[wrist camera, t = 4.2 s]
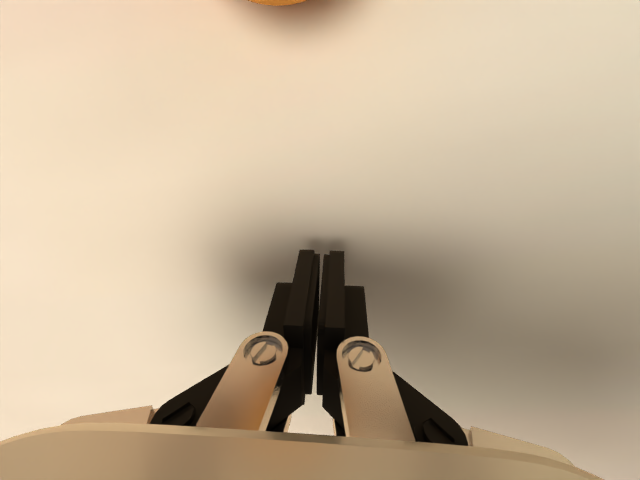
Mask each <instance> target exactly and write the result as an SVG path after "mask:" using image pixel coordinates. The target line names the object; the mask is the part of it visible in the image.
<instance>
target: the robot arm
mask: <svg viewBox="0 0 640 480" xmlns="http://www.w3.org/2000/svg"><path fill="white" fill-rule="evenodd" d="M319 274H320V254H314V250H300V251H299V256H298V260H297V265H296V269H295V274H294V278H293V283H277V284H276V287H275V290H274V294H273V297H272V301H271V304H270V308H269V311H268V315H267V318H266V321H265V325H264V328H263V332H258V333H255V334H253V335H251V336H249V337H248V338H246V339H245V340H244V341H243V342H242V344H241V345H240V346H239V348H238V350H237V352H236V354H235V355H234V357H233V359H232V361H231V363H230V364H229V365H228V366H226V367H224V368H222V369H221V370H219V371H217V372H216V373H214V374H212V375H211V376H209V377H207V378H206V379H204V380H202V381H201V382H199V383H197V384H196V385H194V386H192V387H190V388H189V389H187V390H185V391H184V392H182V393H180V394H179V395H177V396H175V397H174V398H172V399H170V400H169V401H167V402H166V403H165V404H163V405H162V406H161V407H160V408H158V409H153V407H152V405H151V406H145V407H138V408H132V409H125V410H118V411H112V412H105V413H99V414H92V415H86V416H80V417H77V418H73V419H70V420H68V421H67V422H65V423H63V424H61V425H60V426H55V427H49V428H43V429H39V430H35V431H32V432H28V433H25V434H21V435H18V436H14V437H11V438H9V439H6V440H3V441H1V442H0V480H604V479H602V478H600V477H598V476H595V475H593V474H591V473H588V472H586V471H584V470H581V469H579V468H577V467H575V466H574V465H573V464H572V463H571V462H570V461H569V460H568V459H566V458H565V457H564V456H562V455H561V454H560V453H558V452H556V451H553V450H551V449H549V448H546V447H543V446H539V445H536V444H532V443H529V442H525V441H521V440H518V439H514V438H511V437H507V436H504V435H500V434H497V433H493V432H490V431H486V430H483V429H479V428H476V427H472V426H471V428H470V430H468V429H464V428H461V427H460V425H459V424H458V423H457V422H456V421H455V420H453V419H452V418H451V417H450V416H449V415H447V414H446V413H445V412H444V411H442V410H441V409H440V408H439V407H437V406H436V405H435V404H434V403H432V402H431V401H430V400H428V399H427V398H426V397H425V396H423V395H422V394H421V393H420V392H418V391H417V390H416V389H414V388H413V387H412V386H411V385H409V384H408V383H407V382H406V381H404V380H403V379H402V378H401V377H399V376H398V375H397V374H395V373H394V372H393V371H392V369H391V366H390V363H389V361H388V358H387V355H386V352H385V351H384V349H383V347H382V346H381V345H380V344H379V343H378V342H376V341H374V340H372V339H370V338H369V334H368V324H367V313H366V303H365V293H364V287H363V286H345V279H344V251H330V255H327V254H324V261H323V272H322V283H321V294H320V305H319ZM317 329H318V332H317ZM316 340H317V395H323V403H322V407H323V408H324V409H325V410H326V411H327V412H328V413H329V414H330V415H331V416H332V417H333V430H334V436H329V435H315V434H300V433H287V432H288V429H289V425H290V422H291V413H293V412H294V411H295V410H296V409H298V408H299V407H300V406H302V405H304V402H305V394H312V384H313V373H314V362H315V351H316Z"/></svg>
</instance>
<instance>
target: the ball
mask: <svg viewBox="0 0 640 480" xmlns="http://www.w3.org/2000/svg"><path fill="white" fill-rule="evenodd" d="M248 1H251V2H255V3H259V4H264V5H274V6H280V5H291V4H296V3H300V2H304V1H307V0H248Z"/></svg>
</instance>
